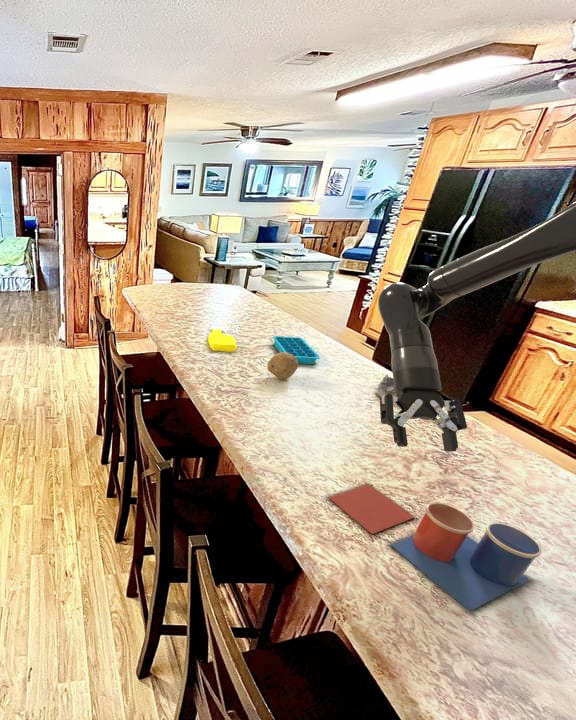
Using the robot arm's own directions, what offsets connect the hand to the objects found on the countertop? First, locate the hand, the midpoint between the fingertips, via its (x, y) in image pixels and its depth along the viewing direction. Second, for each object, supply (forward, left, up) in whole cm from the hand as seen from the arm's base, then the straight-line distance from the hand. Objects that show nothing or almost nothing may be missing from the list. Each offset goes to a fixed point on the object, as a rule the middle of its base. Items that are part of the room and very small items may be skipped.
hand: (426, 448), depth 76 cm
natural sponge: (-17, -53, -15) cm, 58 cm away
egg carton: (-44, -33, -15) cm, 57 cm away
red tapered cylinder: (+5, +10, -14) cm, 18 cm away
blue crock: (0, +16, -14) cm, 22 cm away
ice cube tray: (-38, -68, -15) cm, 79 cm away
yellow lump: (-19, -89, -15) cm, 93 cm away
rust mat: (+7, -1, -15) cm, 16 cm away
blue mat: (+4, +13, -15) cm, 20 cm away
